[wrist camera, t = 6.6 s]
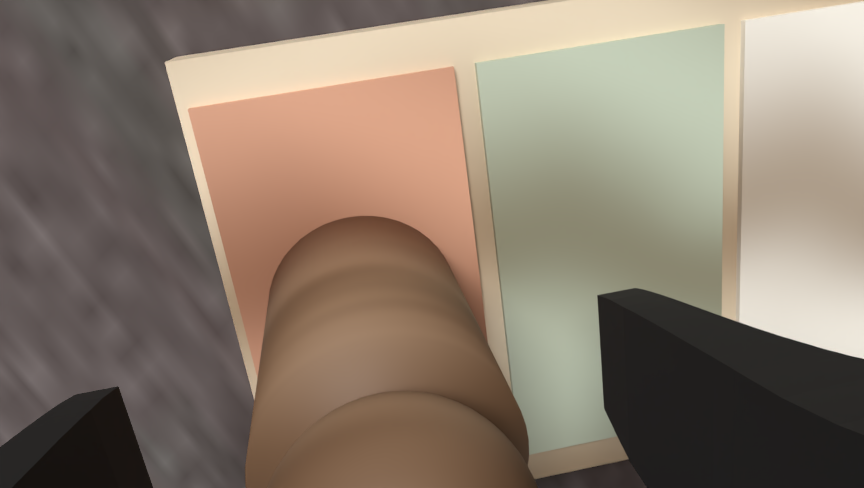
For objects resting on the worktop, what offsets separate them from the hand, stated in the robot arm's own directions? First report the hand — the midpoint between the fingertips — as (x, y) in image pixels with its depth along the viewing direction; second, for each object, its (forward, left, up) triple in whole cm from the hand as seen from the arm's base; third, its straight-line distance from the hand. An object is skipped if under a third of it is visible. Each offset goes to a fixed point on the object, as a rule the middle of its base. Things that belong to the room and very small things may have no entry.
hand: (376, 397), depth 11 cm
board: (0, -5, -4) cm, 7 cm away
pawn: (0, 0, -3) cm, 3 cm away
